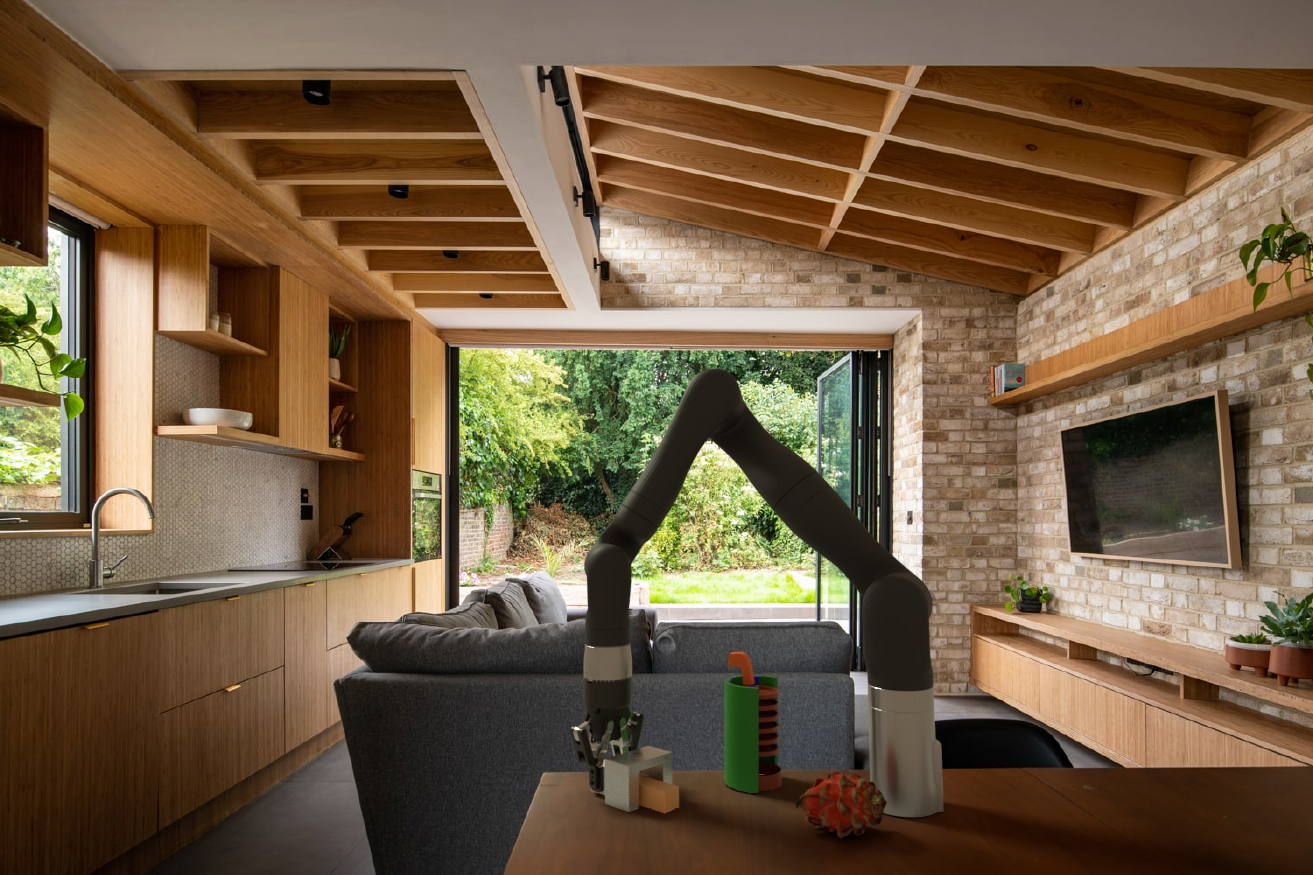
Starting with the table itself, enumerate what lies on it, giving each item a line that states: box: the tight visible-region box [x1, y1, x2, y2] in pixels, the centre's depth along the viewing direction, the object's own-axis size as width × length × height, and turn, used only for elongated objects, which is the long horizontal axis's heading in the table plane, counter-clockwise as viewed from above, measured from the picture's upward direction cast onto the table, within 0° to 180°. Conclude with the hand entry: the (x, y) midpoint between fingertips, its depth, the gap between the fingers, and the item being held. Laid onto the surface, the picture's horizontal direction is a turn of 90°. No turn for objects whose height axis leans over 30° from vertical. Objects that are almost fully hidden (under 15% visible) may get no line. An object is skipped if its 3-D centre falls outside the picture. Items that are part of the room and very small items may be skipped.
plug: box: [590, 759, 680, 814], centre depth 127 cm, size 15×4×4 cm, turn 47°
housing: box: [604, 745, 673, 813], centre depth 127 cm, size 5×9×6 cm, turn 137°
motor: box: [723, 651, 783, 794], centre depth 134 cm, size 10×9×20 cm
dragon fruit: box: [794, 770, 887, 839], centre depth 114 cm, size 8×8×12 cm
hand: (608, 786), depth 131 cm, fingers closed on plug, 4 cm apart
